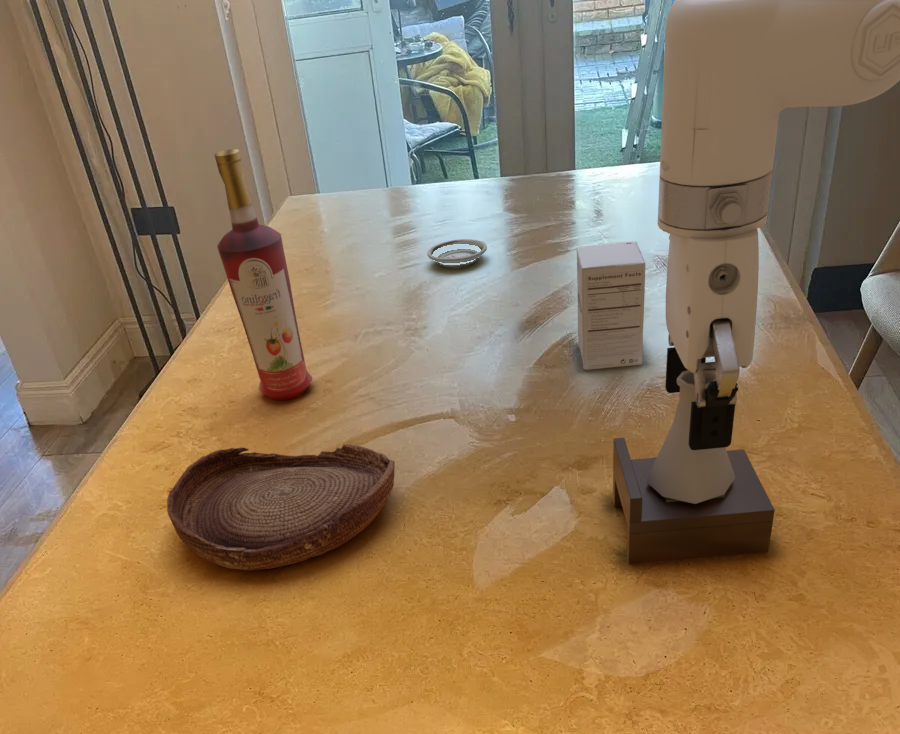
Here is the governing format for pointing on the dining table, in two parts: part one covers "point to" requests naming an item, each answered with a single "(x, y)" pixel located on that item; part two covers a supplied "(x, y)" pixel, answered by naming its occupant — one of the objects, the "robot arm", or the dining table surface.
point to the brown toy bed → (690, 514)
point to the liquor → (261, 288)
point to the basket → (277, 504)
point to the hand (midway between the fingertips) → (696, 417)
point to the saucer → (458, 253)
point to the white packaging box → (610, 304)
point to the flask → (689, 456)
